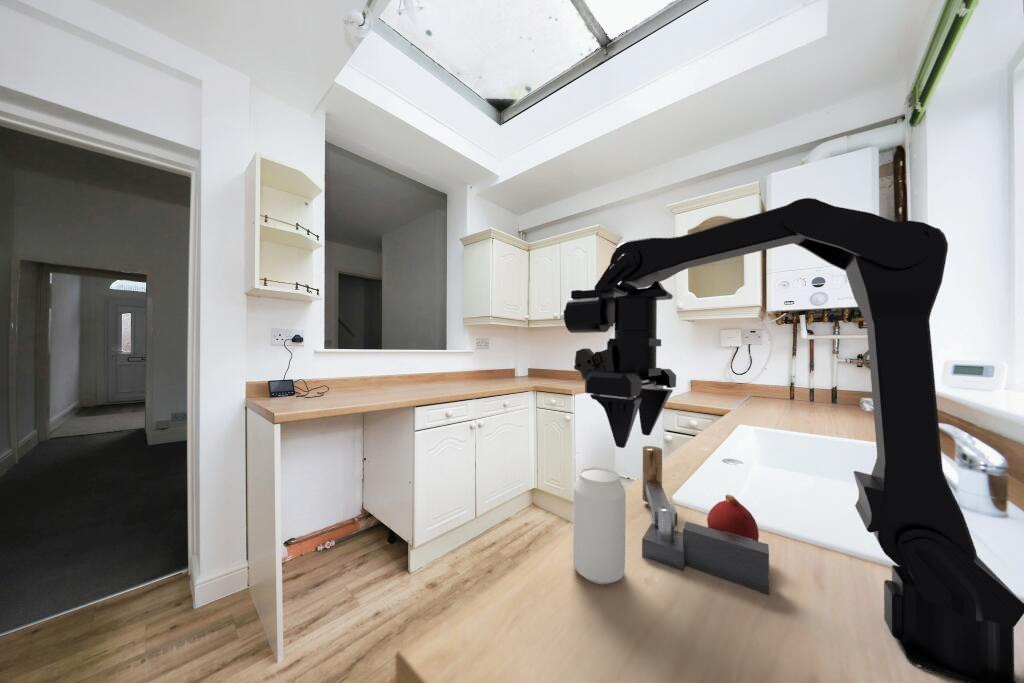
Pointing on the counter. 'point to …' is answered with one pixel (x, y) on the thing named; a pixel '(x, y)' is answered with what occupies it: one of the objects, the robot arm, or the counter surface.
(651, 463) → the lever
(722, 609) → the counter surface
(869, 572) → the counter surface
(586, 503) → the beverage can
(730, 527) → the onion
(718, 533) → the base
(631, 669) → the counter surface
